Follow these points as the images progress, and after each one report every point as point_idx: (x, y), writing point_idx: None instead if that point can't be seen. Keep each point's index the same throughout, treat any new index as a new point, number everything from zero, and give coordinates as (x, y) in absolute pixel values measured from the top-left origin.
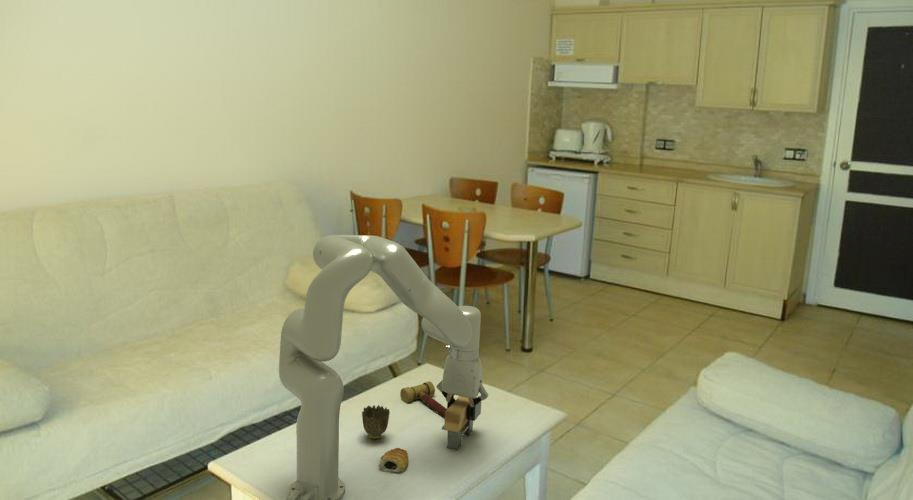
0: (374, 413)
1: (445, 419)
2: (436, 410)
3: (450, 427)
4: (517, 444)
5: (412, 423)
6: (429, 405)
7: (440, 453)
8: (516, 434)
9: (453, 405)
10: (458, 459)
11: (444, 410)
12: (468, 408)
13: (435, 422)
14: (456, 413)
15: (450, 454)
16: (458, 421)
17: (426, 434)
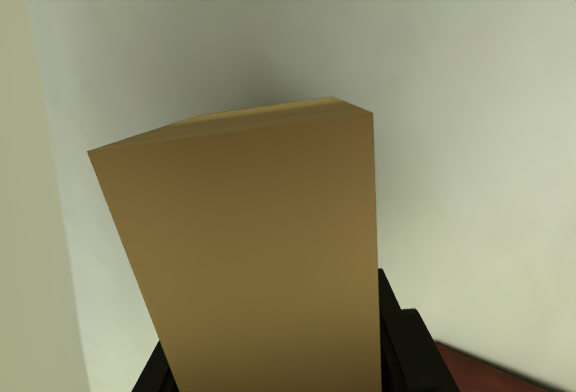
0: None
1: (335, 104)
2: (496, 371)
3: (269, 106)
4: (81, 312)
5: (570, 241)
6: (541, 390)
7: (312, 46)
8: (133, 367)
9: (344, 358)
10: (196, 46)
11: (460, 380)
12: (157, 385)
13: (463, 299)
14: (156, 164)
15: (260, 70)
16: (157, 129)
17: (464, 186)
